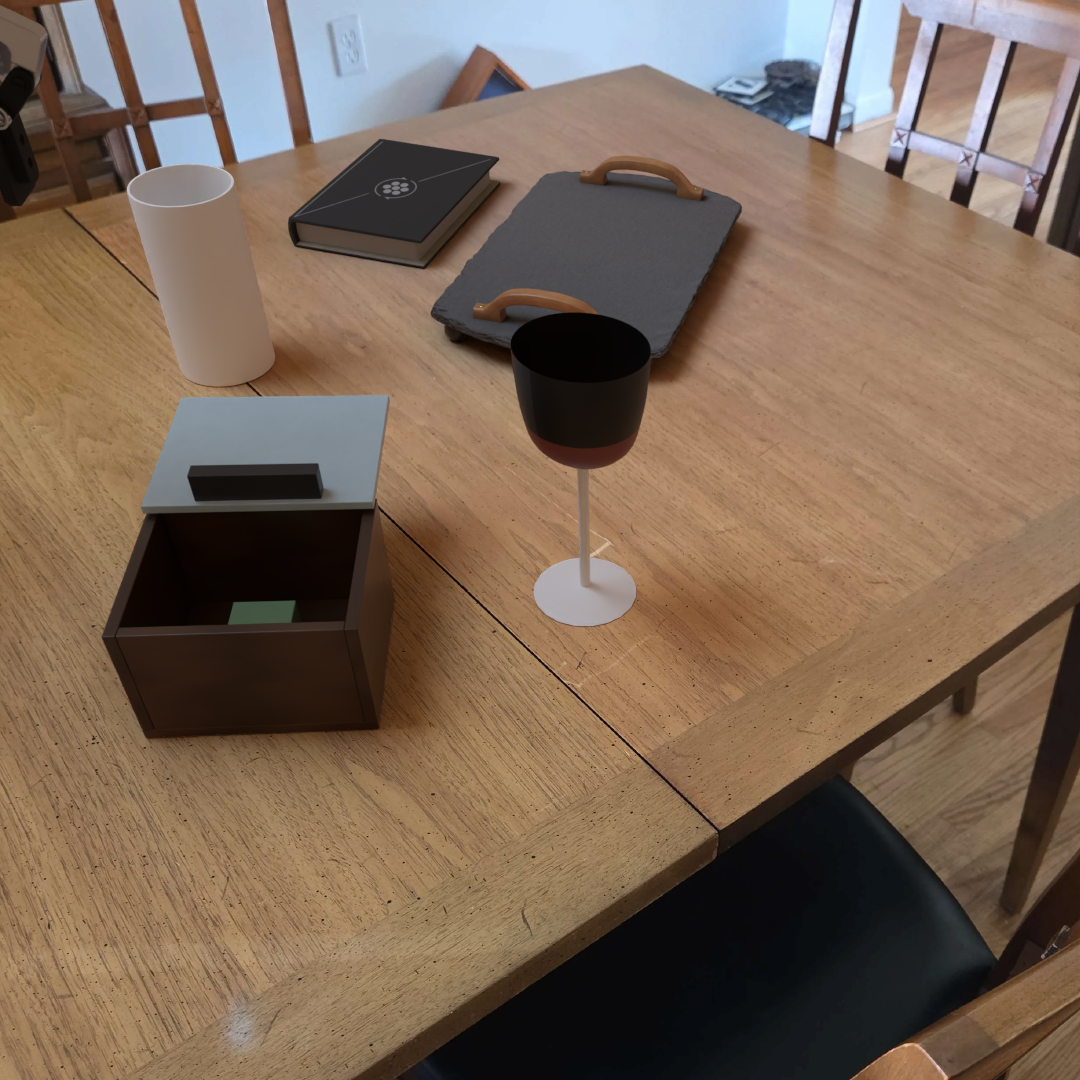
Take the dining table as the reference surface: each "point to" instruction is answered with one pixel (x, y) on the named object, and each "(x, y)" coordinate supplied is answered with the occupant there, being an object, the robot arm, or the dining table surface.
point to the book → (395, 203)
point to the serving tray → (594, 254)
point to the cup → (203, 272)
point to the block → (264, 612)
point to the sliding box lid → (270, 454)
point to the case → (254, 649)
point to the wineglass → (582, 438)
